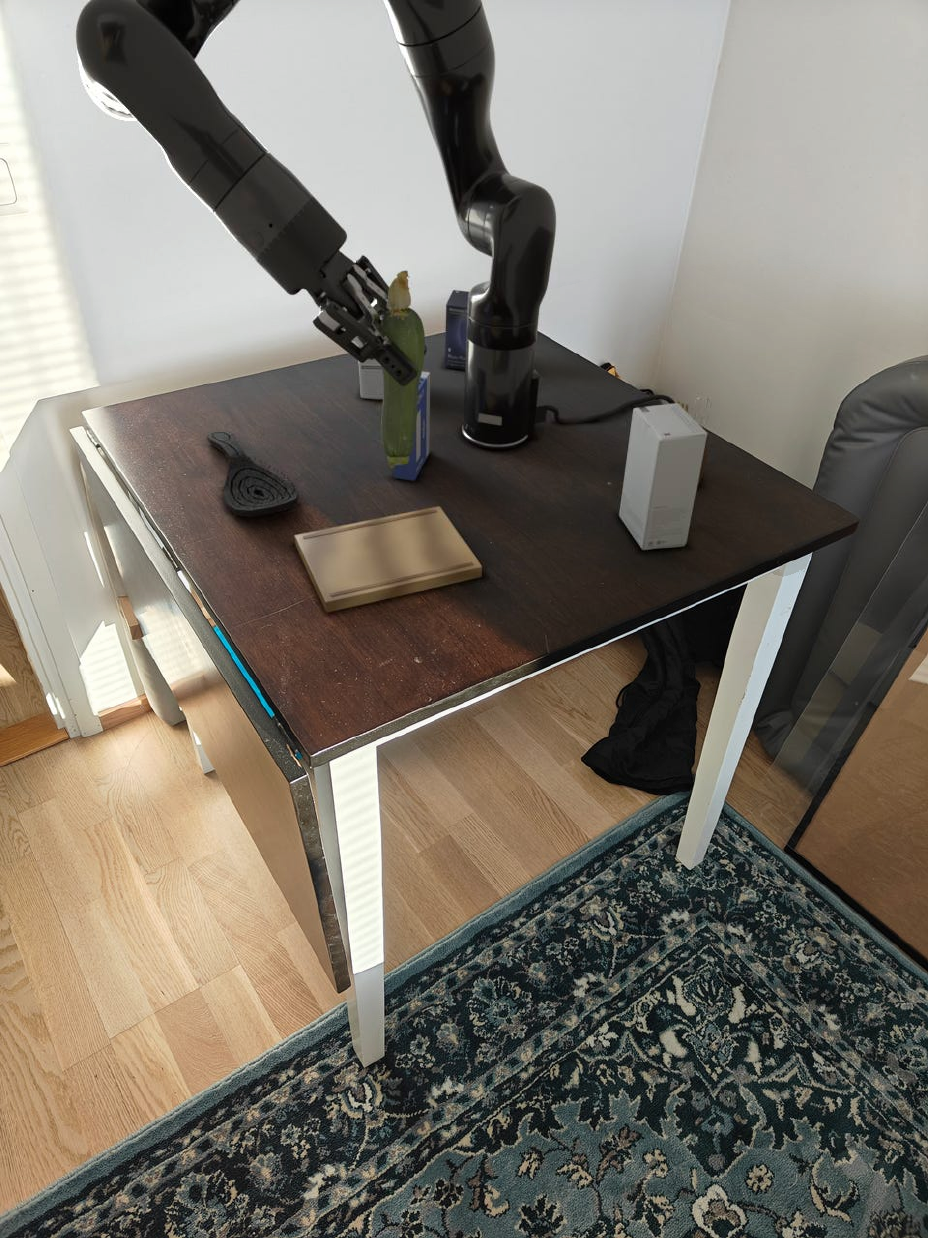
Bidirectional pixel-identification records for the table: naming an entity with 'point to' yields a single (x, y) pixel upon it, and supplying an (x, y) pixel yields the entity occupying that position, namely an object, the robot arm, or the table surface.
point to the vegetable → (396, 399)
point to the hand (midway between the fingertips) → (415, 367)
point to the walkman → (418, 433)
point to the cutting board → (385, 558)
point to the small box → (456, 330)
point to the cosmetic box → (661, 475)
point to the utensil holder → (706, 438)
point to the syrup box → (371, 378)
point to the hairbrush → (251, 481)
